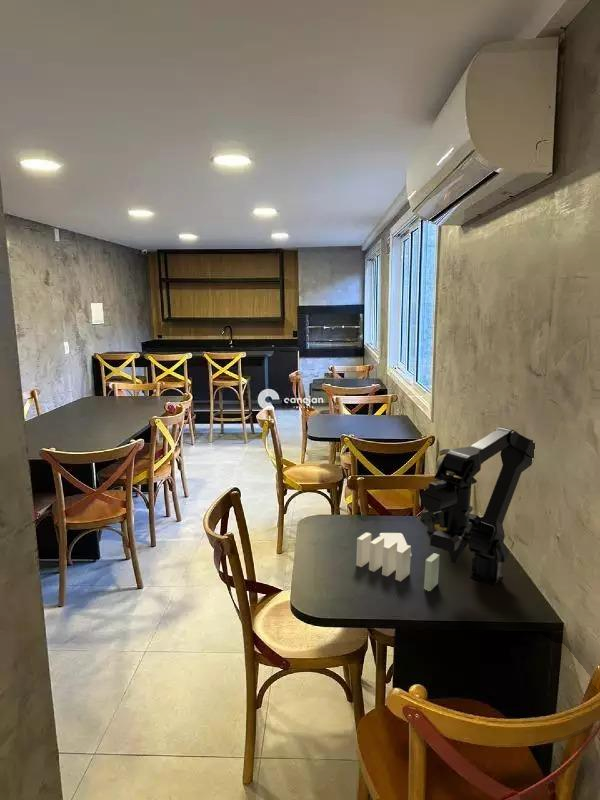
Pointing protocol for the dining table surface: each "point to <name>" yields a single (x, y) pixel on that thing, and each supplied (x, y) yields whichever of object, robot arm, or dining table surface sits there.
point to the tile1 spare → (431, 572)
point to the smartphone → (394, 539)
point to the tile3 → (389, 558)
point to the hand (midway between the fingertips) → (454, 562)
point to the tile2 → (403, 562)
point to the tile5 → (363, 549)
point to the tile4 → (376, 553)
